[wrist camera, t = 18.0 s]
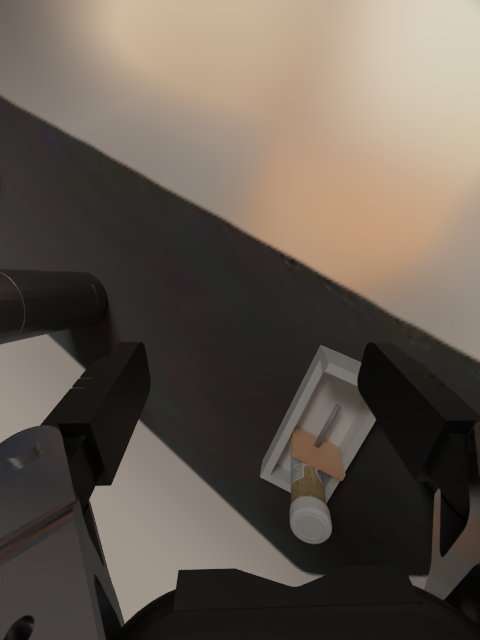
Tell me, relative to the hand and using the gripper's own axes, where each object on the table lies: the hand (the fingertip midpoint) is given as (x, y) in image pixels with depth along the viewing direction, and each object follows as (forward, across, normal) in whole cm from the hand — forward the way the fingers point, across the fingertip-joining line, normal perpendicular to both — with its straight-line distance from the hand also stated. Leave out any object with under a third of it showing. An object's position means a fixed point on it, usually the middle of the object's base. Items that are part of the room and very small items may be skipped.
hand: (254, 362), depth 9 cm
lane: (+21, -13, +27) cm, 37 cm away
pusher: (+21, -13, +26) cm, 35 cm away
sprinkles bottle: (+20, -11, +31) cm, 39 cm away
